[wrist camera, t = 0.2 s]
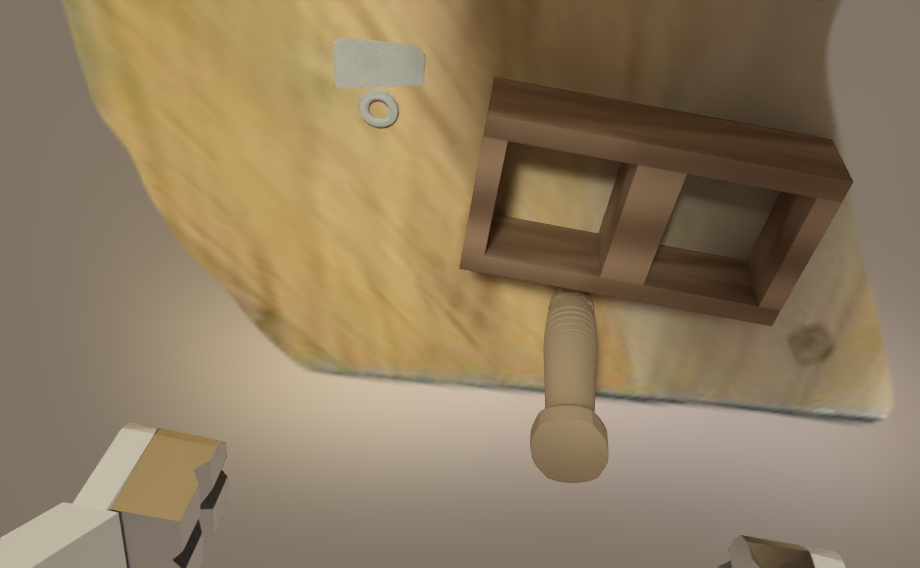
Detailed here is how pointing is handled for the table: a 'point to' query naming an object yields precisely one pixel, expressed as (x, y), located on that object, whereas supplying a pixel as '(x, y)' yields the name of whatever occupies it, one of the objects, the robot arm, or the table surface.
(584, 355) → the handle
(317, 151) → the table surface
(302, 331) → the table surface
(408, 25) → the table surface
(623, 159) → the divided box
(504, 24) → the table surface
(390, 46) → the mounting bracket
